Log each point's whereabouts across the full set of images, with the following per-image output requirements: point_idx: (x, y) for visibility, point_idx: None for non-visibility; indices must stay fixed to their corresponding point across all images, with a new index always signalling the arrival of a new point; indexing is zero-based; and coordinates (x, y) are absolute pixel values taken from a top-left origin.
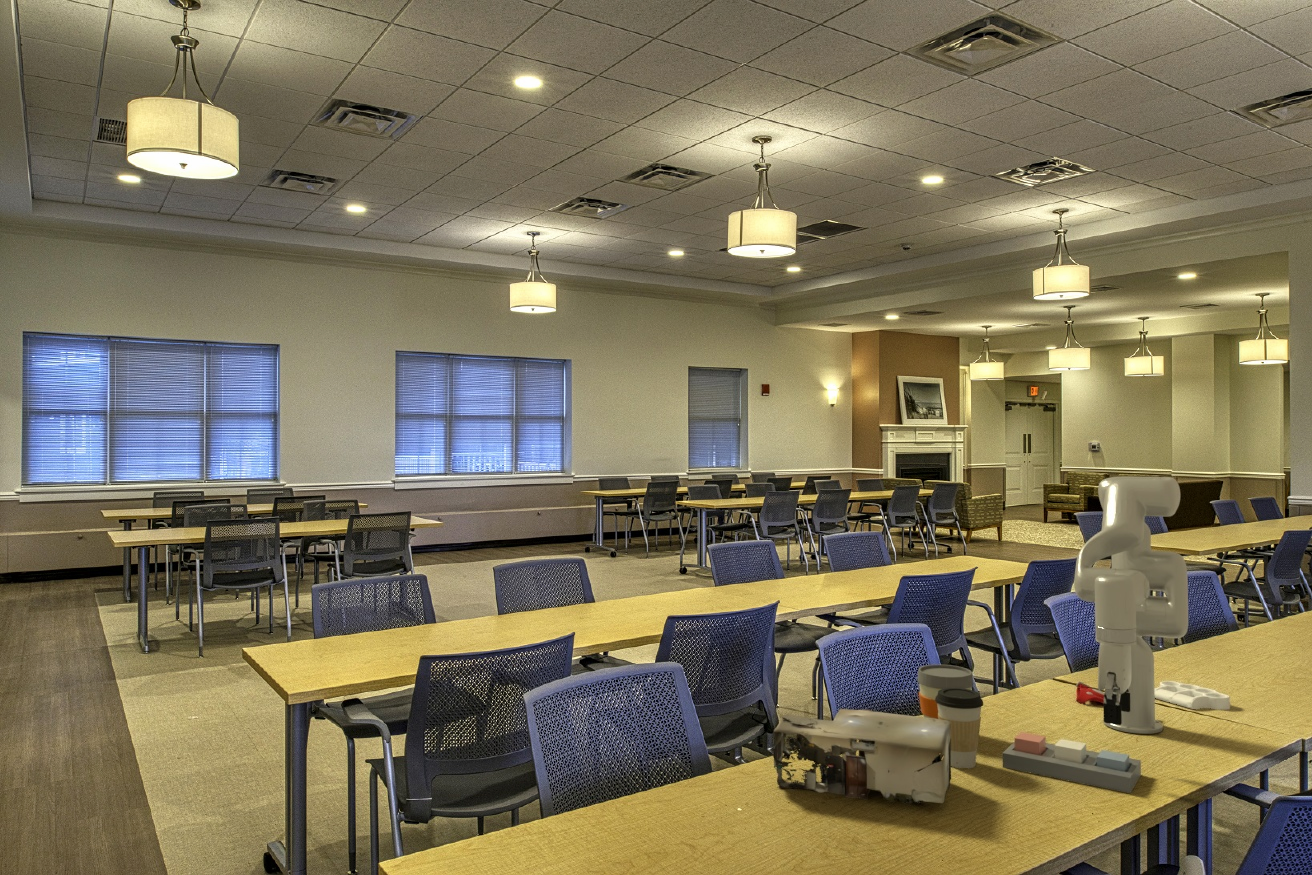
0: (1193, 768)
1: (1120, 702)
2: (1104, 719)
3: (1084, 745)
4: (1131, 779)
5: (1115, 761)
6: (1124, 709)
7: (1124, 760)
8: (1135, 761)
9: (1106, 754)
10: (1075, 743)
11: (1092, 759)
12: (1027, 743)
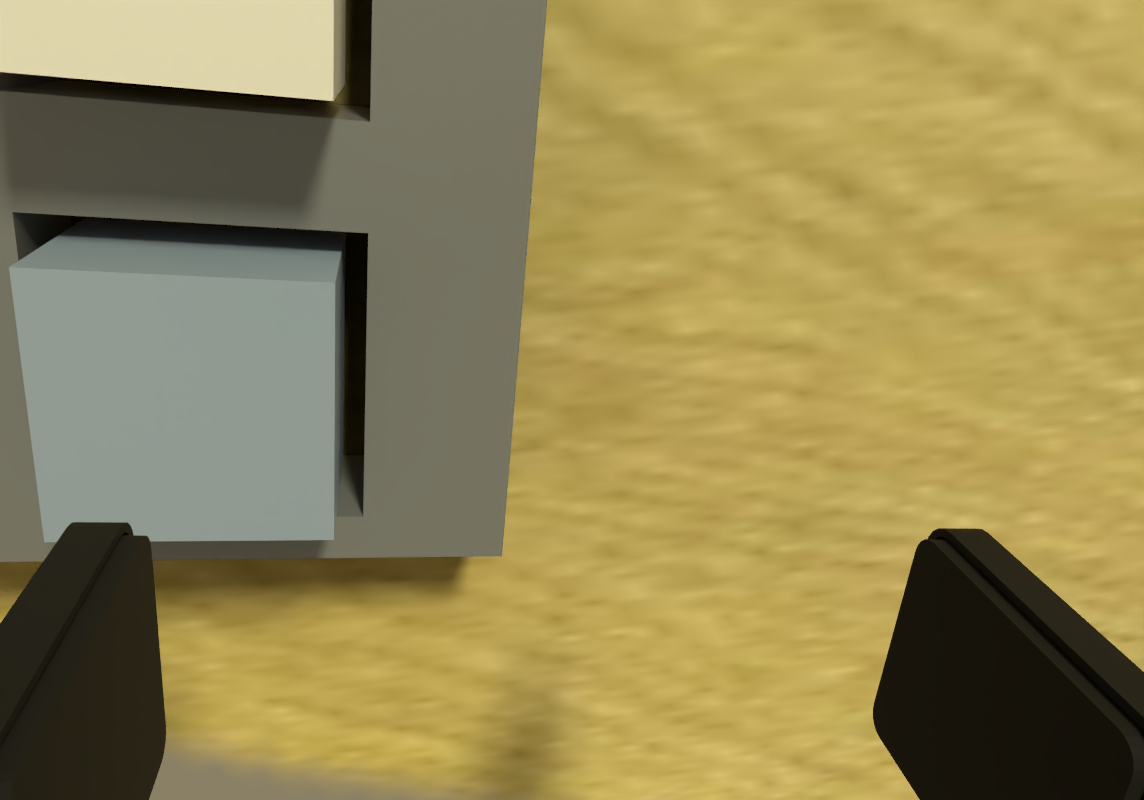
0: (812, 727)
1: (968, 714)
2: (56, 552)
3: (229, 90)
4: None
5: (39, 452)
6: (897, 685)
7: None
8: (437, 527)
9: (185, 348)
10: None
11: (237, 169)
12: None
